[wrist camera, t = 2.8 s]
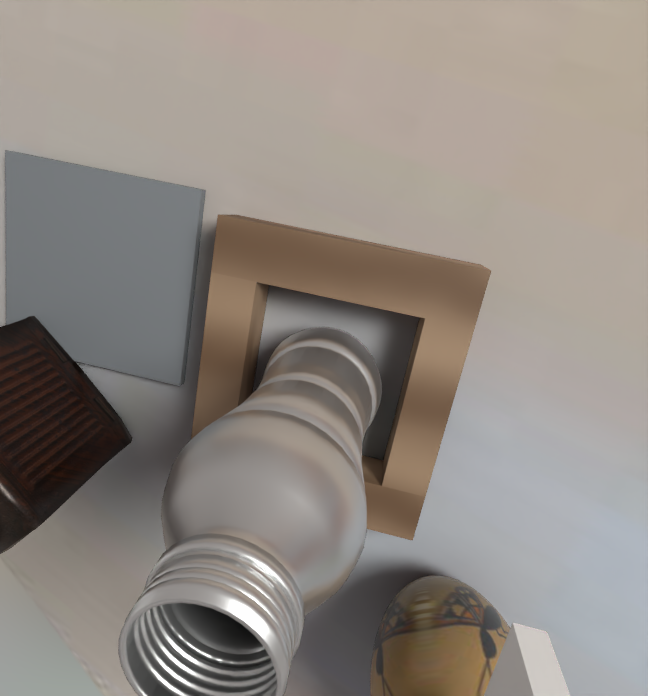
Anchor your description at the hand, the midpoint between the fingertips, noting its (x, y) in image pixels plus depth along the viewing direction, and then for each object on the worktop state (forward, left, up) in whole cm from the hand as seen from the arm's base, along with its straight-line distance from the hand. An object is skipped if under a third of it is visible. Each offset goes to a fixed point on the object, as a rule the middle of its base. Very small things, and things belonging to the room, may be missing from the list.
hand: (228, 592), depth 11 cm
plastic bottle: (0, 0, -18) cm, 18 cm away
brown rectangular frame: (0, 0, -18) cm, 18 cm away
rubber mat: (+3, +15, -18) cm, 24 cm away
